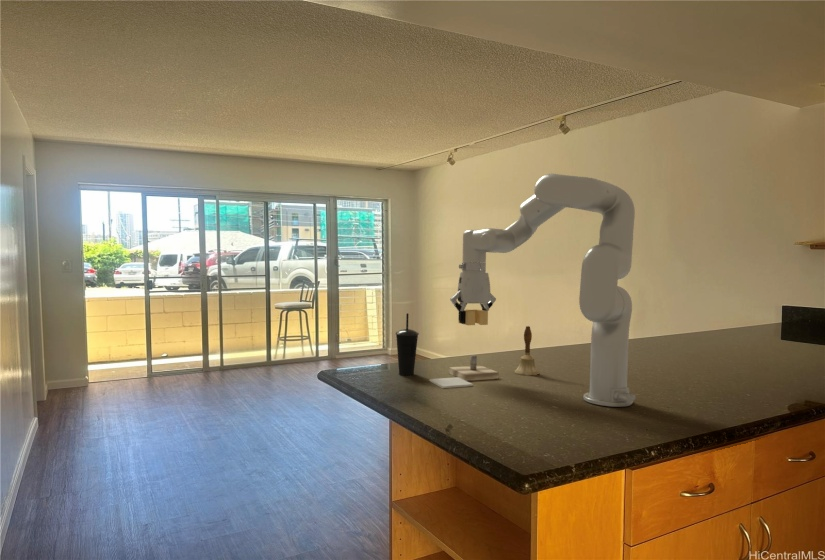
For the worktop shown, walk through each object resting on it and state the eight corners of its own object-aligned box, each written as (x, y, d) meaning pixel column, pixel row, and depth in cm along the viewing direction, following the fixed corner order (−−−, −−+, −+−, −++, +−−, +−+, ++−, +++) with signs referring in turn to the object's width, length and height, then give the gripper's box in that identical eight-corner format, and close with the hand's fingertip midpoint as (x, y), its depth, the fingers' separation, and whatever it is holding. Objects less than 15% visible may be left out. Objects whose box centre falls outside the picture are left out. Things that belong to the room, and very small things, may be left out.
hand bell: (541, 375, 179) (543, 328, 178) (516, 375, 179) (517, 327, 179) (536, 370, 187) (537, 325, 187) (512, 370, 187) (513, 324, 187)
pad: (472, 386, 162) (472, 384, 162) (442, 388, 158) (442, 386, 158) (458, 379, 171) (458, 377, 171) (429, 381, 168) (429, 379, 168)
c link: (487, 324, 173) (487, 311, 173) (468, 325, 171) (468, 311, 171) (477, 322, 180) (477, 309, 180) (458, 322, 177) (458, 309, 177)
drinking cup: (418, 372, 181) (420, 312, 181) (416, 376, 174) (418, 314, 173) (396, 371, 182) (397, 312, 181) (393, 375, 174) (394, 314, 174)
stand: (498, 378, 173) (499, 358, 173) (465, 380, 169) (465, 359, 169) (480, 371, 185) (480, 352, 184) (448, 373, 180) (449, 353, 180)
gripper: (454, 268, 168) (453, 325, 169) (503, 268, 174) (502, 323, 175) (444, 267, 175) (443, 322, 176) (492, 268, 181) (490, 321, 182)
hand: (472, 322), depth 175 cm, fingers closed on c link, 7 cm apart
